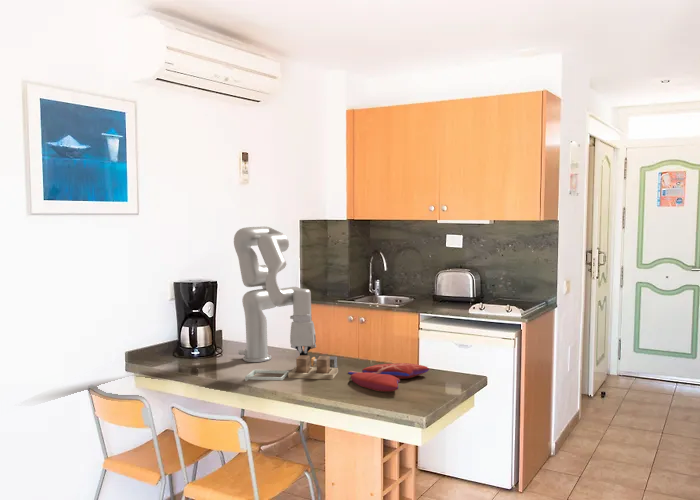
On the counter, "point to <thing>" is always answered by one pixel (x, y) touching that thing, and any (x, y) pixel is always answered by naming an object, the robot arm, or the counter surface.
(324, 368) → the block
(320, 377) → the pallet
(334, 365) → the grey metal housing
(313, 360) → the plunger
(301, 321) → the robot arm
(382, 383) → the anatomical model
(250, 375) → the tote
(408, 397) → the counter surface
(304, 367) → the block
